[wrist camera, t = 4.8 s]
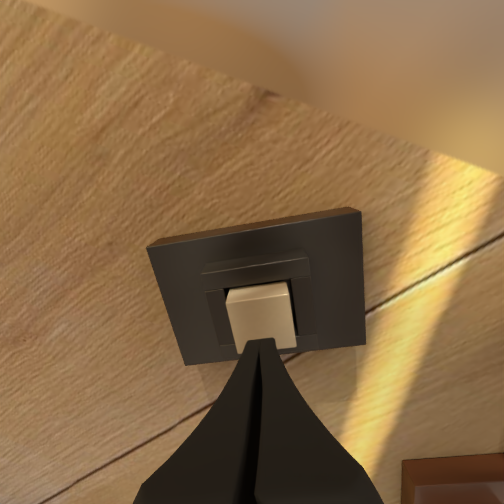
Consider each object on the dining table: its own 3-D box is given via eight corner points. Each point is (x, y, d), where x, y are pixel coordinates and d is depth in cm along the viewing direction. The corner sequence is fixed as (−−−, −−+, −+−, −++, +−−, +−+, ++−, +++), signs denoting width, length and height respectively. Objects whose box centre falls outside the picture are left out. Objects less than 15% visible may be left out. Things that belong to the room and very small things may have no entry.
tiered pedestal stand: (349, 206, 16) (375, 216, 13) (355, 326, 19) (378, 363, 16) (159, 238, 18) (131, 256, 14) (192, 346, 21) (177, 385, 17)
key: (286, 280, 15) (289, 293, 13) (293, 329, 16) (297, 347, 14) (229, 288, 15) (225, 302, 13) (240, 335, 16) (237, 354, 14)
